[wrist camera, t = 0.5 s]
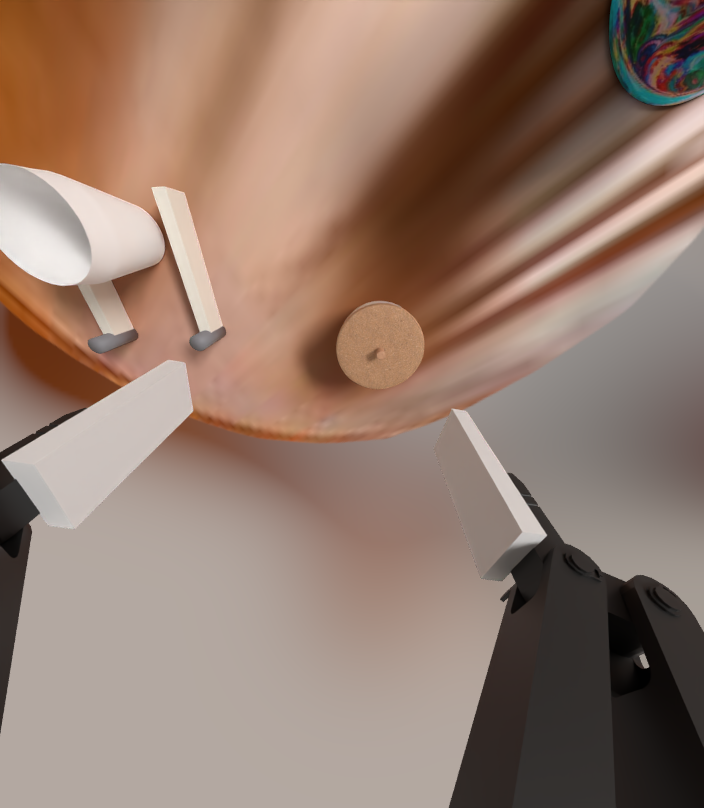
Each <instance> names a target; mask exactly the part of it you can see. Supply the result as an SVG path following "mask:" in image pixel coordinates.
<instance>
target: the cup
mask: <svg viewBox="0 0 704 808" xmlns="http://www.w3.org/2000/svg"><path fill="white" fill-rule="evenodd" d="M0 249H1V250H2V251H3V252H4V254H5V255H6V256H7V257H8V258H9V259H11V260H12V261H13V262H14V263H15V264H16V265H18V266H19V267H20V268H21V269H23V270H24V271H26V272H27V273H29V274H30V275H32V276H34V277H36V278H38V279H40V280H42V281H45V282H47V283H51V284H55V285H61V286H69V285H86V284H99V283H104V282H107V281H110V280H113V279H116V278H119V277H122V276H124V275H127V274H130V273H133V272H136V271H139V270H142V269H145V268H147V267H150V266H153V265H156V264H157V263H159V262H160V261H161V259H162V258H163V255H164V252H165V242H164V238H163V234H162V232H161V230H160V228H159V226H158V224H157V223H156V221H155V220H154V219H153V218H152V217H151V216H150V215H149V214H148V213H147V212H146V211H145V210H143V209H142V208H140V207H138V206H136V205H134V204H132V203H129V202H127V201H124V200H122V199H119V198H117V197H114V196H112V195H109V194H107V193H105V192H102V191H100V190H97V189H95V188H92V187H90V186H87V185H85V184H83V183H80V182H78V181H75V180H73V179H70V178H68V177H65V176H63V175H60V174H57V173H54V172H50V171H46V170H39V169H32V168H26V167H21V166H16V165H11V164H4V163H0Z"/></svg>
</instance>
